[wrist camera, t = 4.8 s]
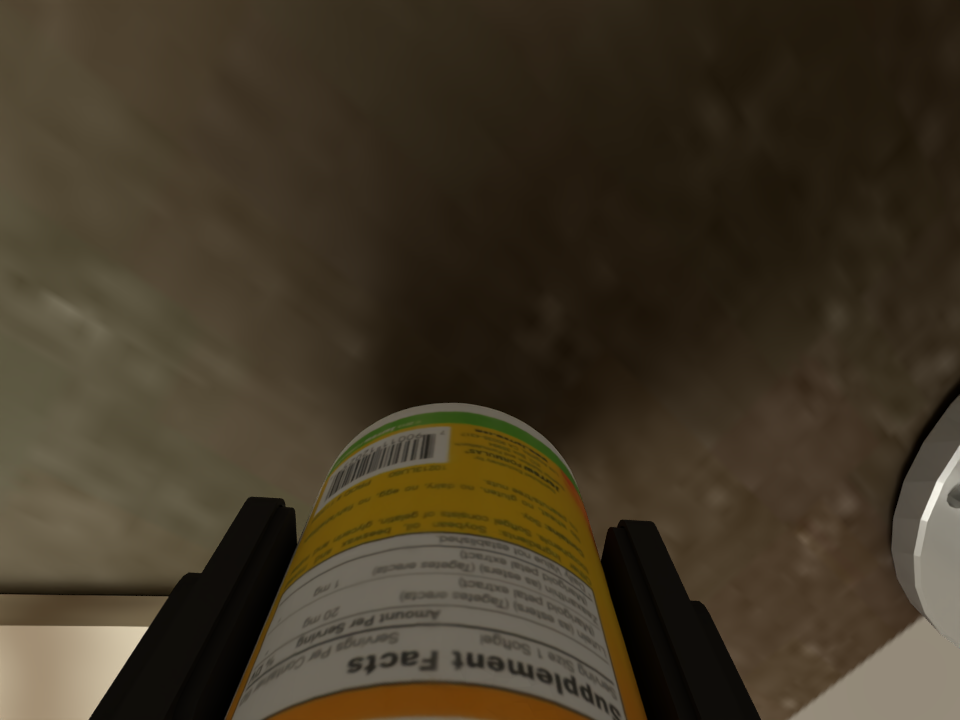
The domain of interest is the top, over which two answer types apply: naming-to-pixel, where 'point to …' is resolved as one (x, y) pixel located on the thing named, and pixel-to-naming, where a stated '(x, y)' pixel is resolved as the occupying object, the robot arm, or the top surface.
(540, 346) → the top surface
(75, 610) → the birch board
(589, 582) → the supplement bottle
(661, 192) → the top surface
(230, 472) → the top surface
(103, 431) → the top surface
